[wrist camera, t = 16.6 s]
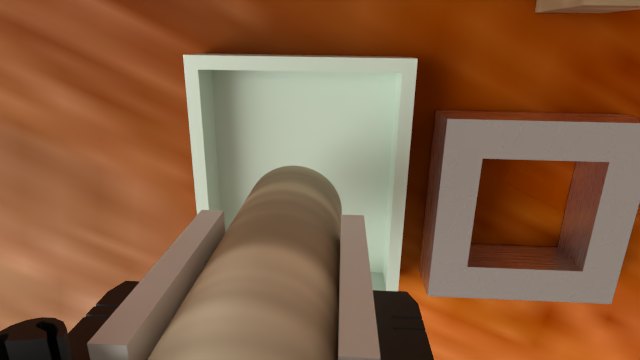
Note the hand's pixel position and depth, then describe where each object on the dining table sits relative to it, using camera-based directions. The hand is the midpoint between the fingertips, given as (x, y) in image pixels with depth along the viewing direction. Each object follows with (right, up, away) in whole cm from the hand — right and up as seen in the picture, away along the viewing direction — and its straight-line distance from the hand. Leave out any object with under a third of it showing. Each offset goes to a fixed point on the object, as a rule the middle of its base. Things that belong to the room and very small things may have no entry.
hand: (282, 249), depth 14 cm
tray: (0, +3, +8) cm, 8 cm away
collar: (+11, +1, +8) cm, 14 cm away
